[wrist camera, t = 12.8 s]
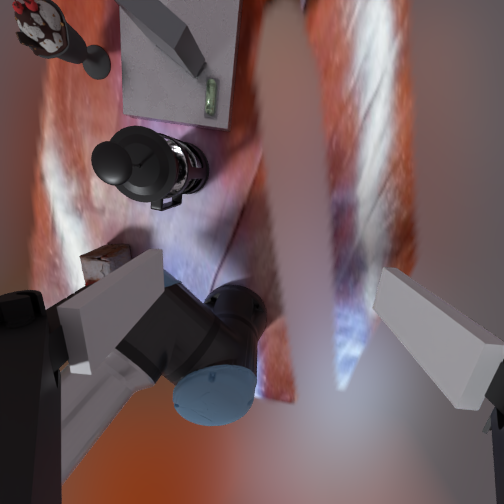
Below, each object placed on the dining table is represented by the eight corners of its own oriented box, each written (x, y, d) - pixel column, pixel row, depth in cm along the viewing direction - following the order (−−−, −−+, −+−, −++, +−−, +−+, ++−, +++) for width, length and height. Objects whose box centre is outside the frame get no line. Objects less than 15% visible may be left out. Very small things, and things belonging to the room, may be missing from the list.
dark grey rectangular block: (205, 59, 36) (186, 24, 28) (195, 78, 37) (173, 49, 29) (129, -6, 34) (85, -66, 26) (120, 15, 35) (74, -37, 27)
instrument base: (230, 131, 43) (225, 126, 38) (132, 118, 43) (117, 111, 38) (243, -11, 36) (240, -38, 32) (129, -27, 36) (109, -56, 32)
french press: (163, 133, 43) (58, 92, 21) (212, 143, 43) (159, 112, 22) (159, 197, 47) (67, 217, 25) (205, 206, 47) (152, 234, 25)
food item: (143, 299, 55) (117, 324, 46) (110, 298, 55) (78, 323, 46) (134, 243, 51) (104, 259, 41) (98, 242, 51) (61, 257, 42)
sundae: (108, 35, 39) (18, -45, 25) (119, 82, 41) (42, 33, 27) (71, 41, 40) (-37, -33, 25) (84, 87, 42) (-9, 43, 27)
